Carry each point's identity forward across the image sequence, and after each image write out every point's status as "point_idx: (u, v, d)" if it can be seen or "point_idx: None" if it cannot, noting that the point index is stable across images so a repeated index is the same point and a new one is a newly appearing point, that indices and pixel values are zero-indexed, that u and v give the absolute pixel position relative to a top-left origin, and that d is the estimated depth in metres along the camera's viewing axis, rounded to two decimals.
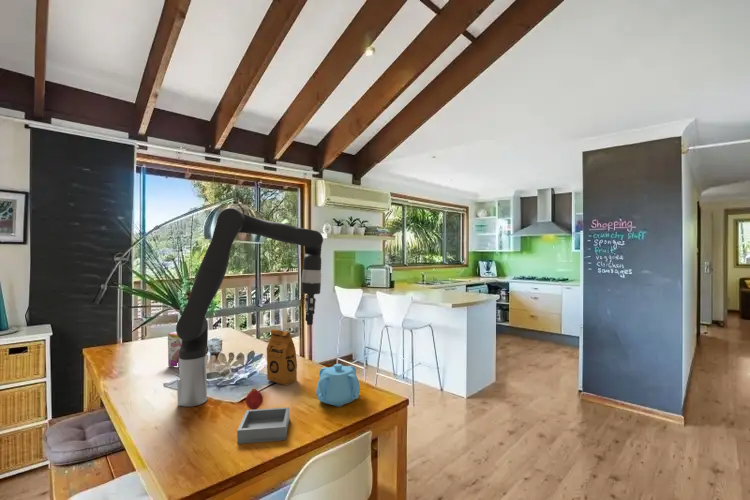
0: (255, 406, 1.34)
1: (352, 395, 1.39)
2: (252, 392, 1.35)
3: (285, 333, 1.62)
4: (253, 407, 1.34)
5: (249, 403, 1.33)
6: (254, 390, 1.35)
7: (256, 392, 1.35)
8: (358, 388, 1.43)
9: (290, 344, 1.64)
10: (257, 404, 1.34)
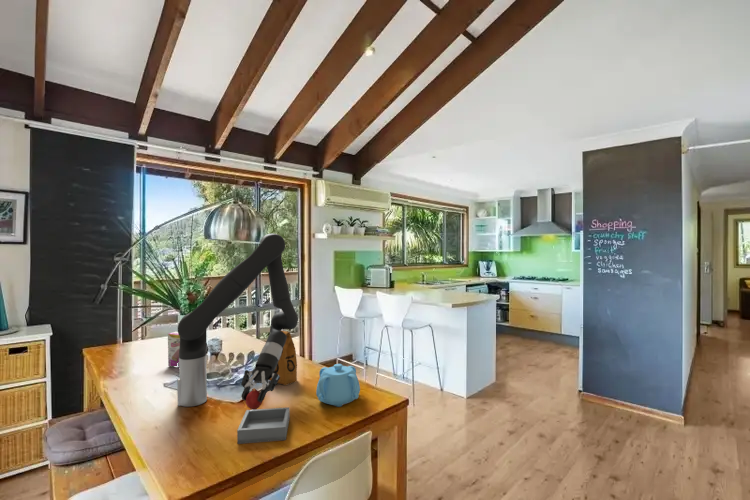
0: (255, 406, 1.34)
1: (352, 395, 1.39)
2: (252, 392, 1.35)
3: (285, 333, 1.62)
4: (253, 407, 1.34)
5: (249, 403, 1.33)
6: (254, 390, 1.35)
7: (256, 392, 1.35)
8: (358, 388, 1.43)
9: (290, 344, 1.64)
10: (257, 404, 1.34)
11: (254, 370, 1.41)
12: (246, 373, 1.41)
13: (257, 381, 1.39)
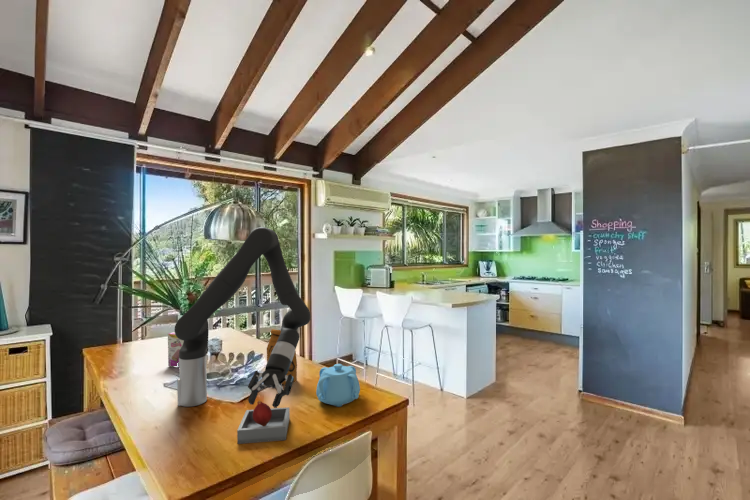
0: (264, 420, 1.19)
1: (352, 395, 1.39)
2: (258, 405, 1.21)
3: None
4: (262, 421, 1.19)
5: (257, 418, 1.19)
6: (260, 403, 1.21)
7: (262, 404, 1.21)
8: (358, 388, 1.43)
9: None
10: (266, 416, 1.19)
11: (264, 373, 1.26)
12: (255, 374, 1.26)
13: (266, 385, 1.24)
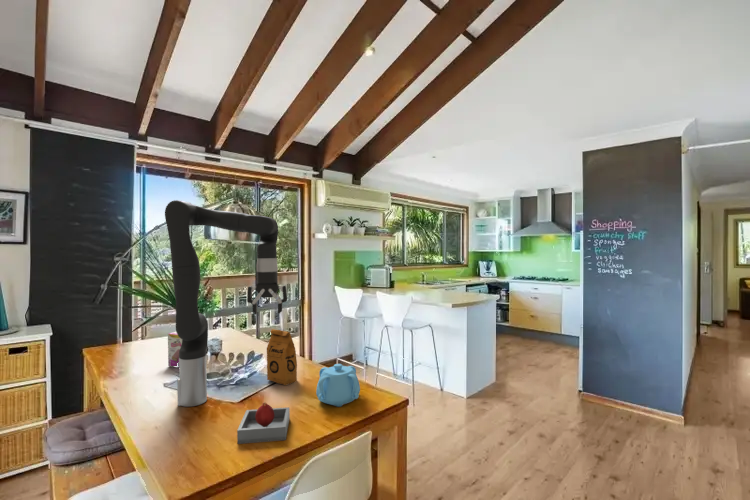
0: (266, 423, 1.19)
1: (352, 395, 1.39)
2: (263, 407, 1.20)
3: (285, 333, 1.62)
4: (264, 424, 1.19)
5: (259, 419, 1.18)
6: (265, 404, 1.20)
7: (267, 407, 1.20)
8: (358, 388, 1.43)
9: (290, 344, 1.64)
10: (268, 420, 1.19)
11: (258, 288, 1.41)
12: (250, 290, 1.41)
13: (264, 297, 1.42)
